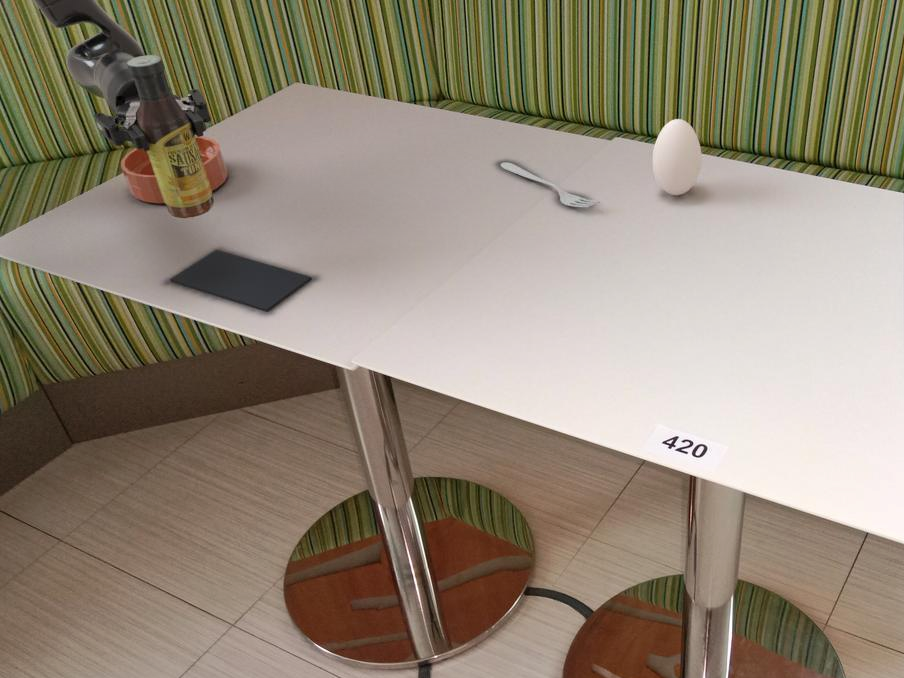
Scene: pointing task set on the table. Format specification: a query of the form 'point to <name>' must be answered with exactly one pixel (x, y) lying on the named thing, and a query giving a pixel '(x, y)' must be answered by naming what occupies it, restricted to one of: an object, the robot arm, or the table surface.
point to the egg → (676, 157)
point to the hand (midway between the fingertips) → (172, 136)
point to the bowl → (145, 180)
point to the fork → (564, 196)
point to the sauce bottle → (170, 141)
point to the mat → (241, 280)
